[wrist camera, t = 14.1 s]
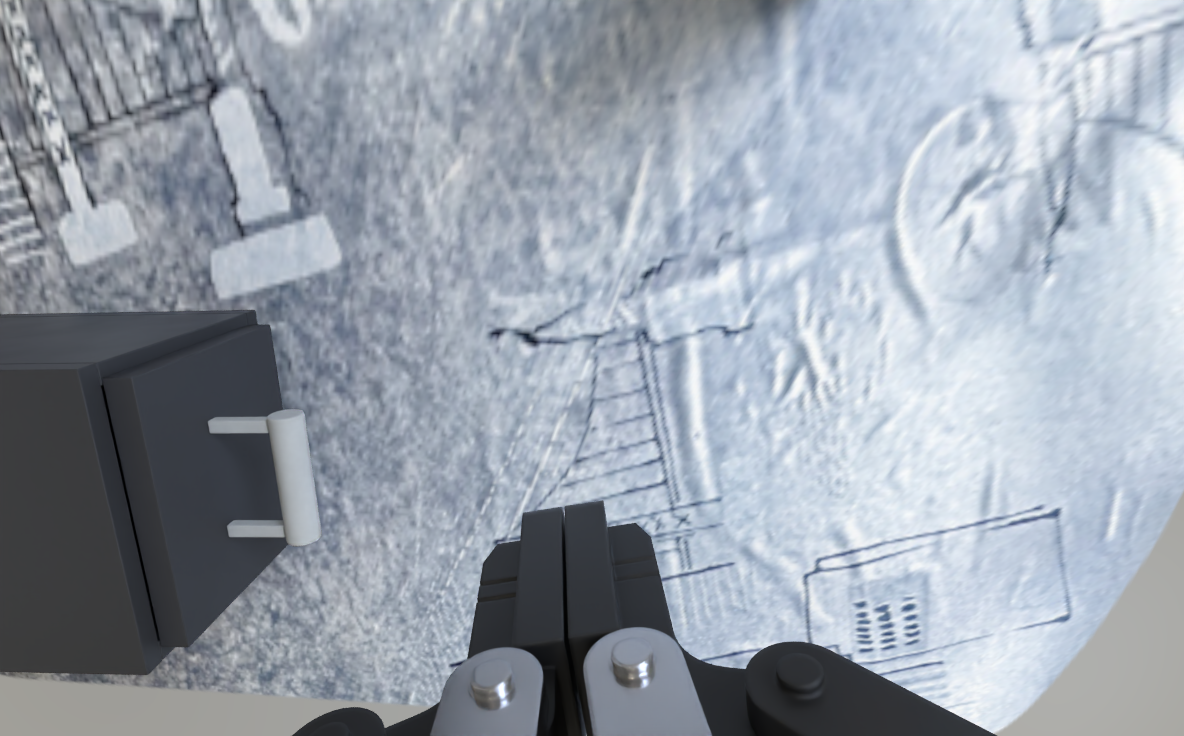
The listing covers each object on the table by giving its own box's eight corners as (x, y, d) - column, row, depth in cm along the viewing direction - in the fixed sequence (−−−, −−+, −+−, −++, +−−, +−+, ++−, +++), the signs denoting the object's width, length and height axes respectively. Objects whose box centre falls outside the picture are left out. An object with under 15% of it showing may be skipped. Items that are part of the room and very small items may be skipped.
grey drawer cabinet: (255, 309, 36) (77, 369, 24) (290, 532, 39) (148, 675, 28) (-11, 314, 37) (-301, 373, 25) (45, 530, 40) (-189, 668, 29)
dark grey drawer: (349, 323, 35) (240, 376, 25) (375, 531, 38) (285, 649, 28) (18, 328, 36) (-206, 381, 26) (69, 529, 39) (-116, 642, 29)
